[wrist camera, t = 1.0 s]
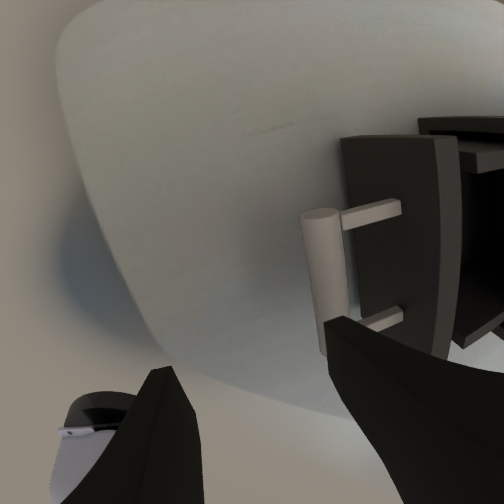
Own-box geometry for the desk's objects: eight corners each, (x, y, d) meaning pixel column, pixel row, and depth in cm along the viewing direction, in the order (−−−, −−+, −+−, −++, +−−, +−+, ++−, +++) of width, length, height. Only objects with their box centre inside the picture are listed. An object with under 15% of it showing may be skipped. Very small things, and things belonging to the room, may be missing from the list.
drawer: (297, 339, 17) (346, 423, 11) (260, 153, 14) (318, 156, 7) (487, 259, 19) (550, 292, 13) (485, 124, 15) (562, 131, 9)
